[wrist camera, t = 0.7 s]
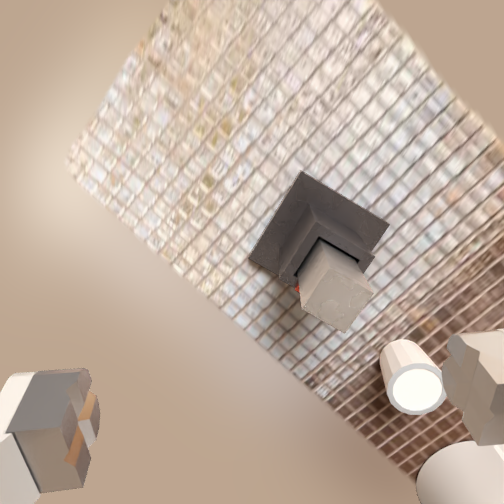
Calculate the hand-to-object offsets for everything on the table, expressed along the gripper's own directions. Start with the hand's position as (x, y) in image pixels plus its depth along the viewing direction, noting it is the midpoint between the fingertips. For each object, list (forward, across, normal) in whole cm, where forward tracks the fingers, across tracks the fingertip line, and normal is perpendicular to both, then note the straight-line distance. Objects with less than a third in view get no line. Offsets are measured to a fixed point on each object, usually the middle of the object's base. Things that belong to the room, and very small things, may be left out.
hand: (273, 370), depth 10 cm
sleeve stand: (+39, +10, -17) cm, 44 cm away
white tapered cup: (+34, +20, -33) cm, 52 cm away
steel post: (+37, +10, -17) cm, 42 cm away
